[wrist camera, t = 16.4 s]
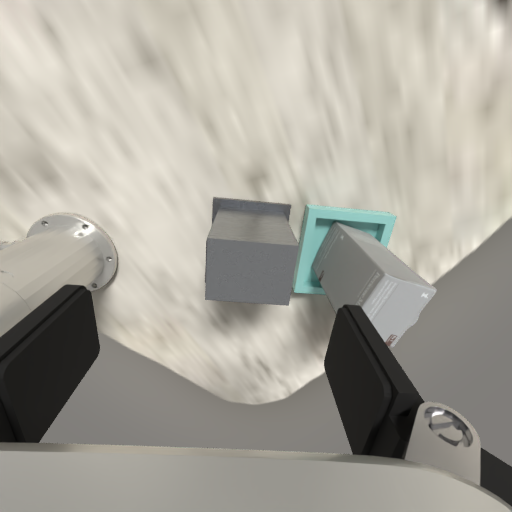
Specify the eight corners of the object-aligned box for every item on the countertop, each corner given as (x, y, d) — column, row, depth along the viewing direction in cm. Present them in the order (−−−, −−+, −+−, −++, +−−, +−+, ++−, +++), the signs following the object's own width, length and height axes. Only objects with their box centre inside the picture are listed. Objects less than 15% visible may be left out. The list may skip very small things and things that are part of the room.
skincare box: (332, 219, 40) (381, 266, 25) (374, 235, 41) (444, 288, 27) (308, 268, 43) (339, 335, 28) (348, 281, 44) (397, 352, 30)
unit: (211, 255, 42) (195, 306, 29) (213, 197, 39) (196, 227, 26) (281, 260, 43) (296, 313, 30) (290, 204, 39) (311, 237, 26)
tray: (292, 285, 45) (294, 292, 43) (306, 204, 39) (309, 208, 37) (365, 290, 45) (370, 298, 43) (388, 212, 40) (396, 216, 38)
